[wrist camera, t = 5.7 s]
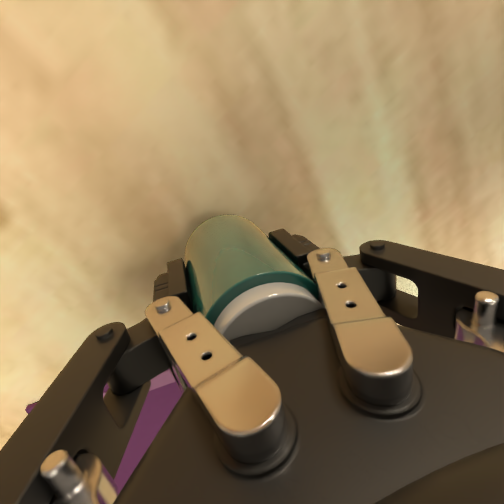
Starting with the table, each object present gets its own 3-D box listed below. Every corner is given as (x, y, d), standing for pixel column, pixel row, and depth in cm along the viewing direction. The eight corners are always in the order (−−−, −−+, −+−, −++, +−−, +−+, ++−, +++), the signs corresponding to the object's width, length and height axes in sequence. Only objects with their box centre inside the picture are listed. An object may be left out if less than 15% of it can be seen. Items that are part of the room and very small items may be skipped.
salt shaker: (257, 204, 15) (339, 263, 8) (272, 277, 17) (350, 379, 10) (173, 227, 15) (181, 315, 8) (197, 301, 16) (223, 430, 9)
